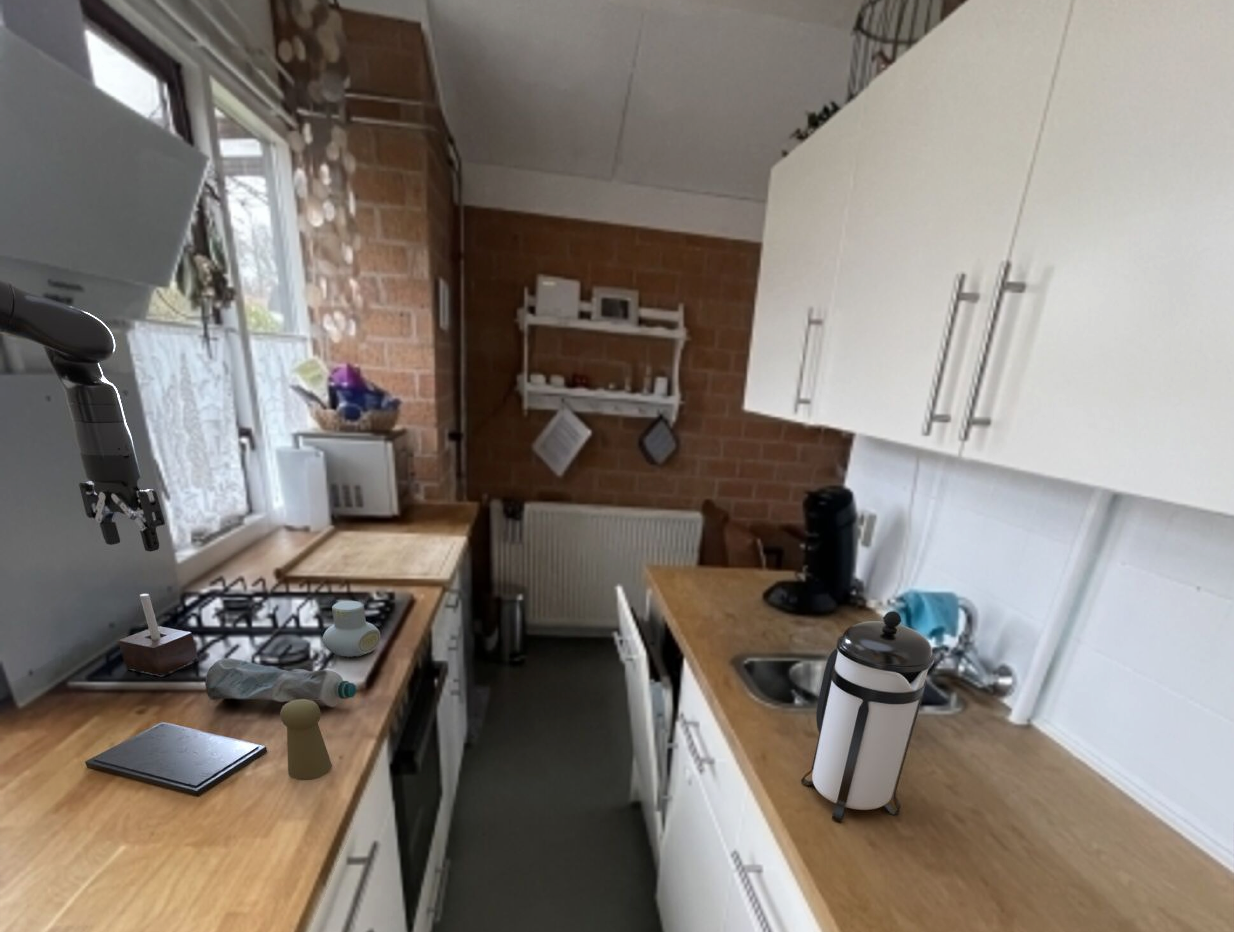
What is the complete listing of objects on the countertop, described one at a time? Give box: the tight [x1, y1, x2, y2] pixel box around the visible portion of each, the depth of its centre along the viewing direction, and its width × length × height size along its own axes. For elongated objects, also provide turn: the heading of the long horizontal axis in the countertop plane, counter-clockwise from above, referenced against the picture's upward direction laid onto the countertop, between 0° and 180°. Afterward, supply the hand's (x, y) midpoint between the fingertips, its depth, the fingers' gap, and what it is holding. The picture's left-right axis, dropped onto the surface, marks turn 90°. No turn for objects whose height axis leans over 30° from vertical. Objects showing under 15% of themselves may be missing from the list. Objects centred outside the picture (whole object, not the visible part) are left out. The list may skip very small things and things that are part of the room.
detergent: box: [204, 657, 357, 708], centre depth 121 cm, size 13×7×25 cm
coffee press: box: [800, 610, 935, 823], centre depth 101 cm, size 17×16×30 cm
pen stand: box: [117, 625, 199, 675], centre depth 131 cm, size 8×8×6 cm
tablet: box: [84, 721, 268, 797], centre depth 105 cm, size 20×13×1 cm, turn 73°
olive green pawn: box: [279, 699, 333, 781], centre depth 102 cm, size 6×6×11 cm
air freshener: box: [322, 600, 382, 658], centre depth 141 cm, size 11×8×10 cm
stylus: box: [139, 593, 161, 640], centre depth 129 cm, size 1×1×14 cm
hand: (133, 547), depth 123 cm, fingers open, 8 cm apart
